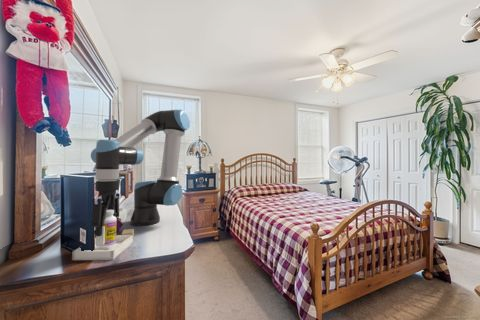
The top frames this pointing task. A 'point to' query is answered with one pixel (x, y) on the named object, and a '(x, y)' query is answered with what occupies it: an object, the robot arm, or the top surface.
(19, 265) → the top surface
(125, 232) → the maple block
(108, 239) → the supplement bottle
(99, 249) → the tray
